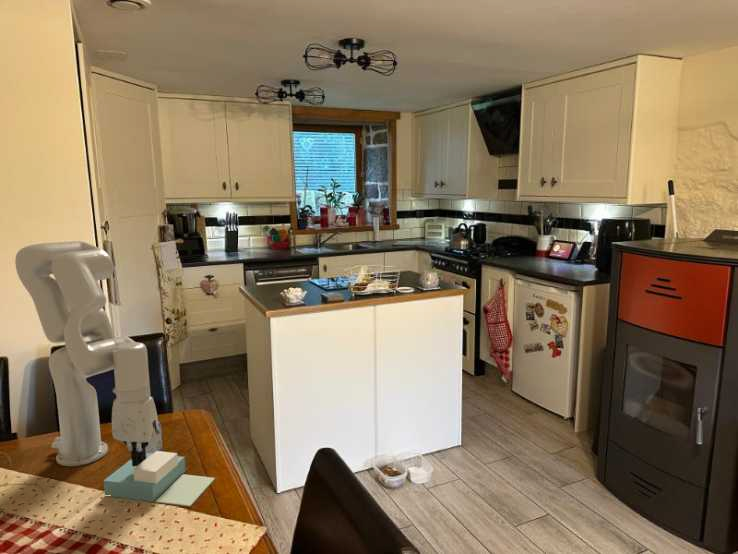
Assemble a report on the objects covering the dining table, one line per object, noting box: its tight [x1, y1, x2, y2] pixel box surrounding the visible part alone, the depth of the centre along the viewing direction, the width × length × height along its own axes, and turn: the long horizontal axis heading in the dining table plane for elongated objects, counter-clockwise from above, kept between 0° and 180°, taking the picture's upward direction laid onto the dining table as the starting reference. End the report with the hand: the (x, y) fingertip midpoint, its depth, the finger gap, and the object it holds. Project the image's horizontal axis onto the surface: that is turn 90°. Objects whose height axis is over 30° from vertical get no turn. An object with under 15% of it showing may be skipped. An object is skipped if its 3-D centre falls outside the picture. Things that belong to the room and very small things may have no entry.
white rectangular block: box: [133, 450, 179, 483], centre depth 126 cm, size 6×9×3 cm, turn 167°
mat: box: [154, 473, 216, 508], centre depth 126 cm, size 9×12×1 cm
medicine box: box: [146, 421, 163, 453], centre depth 141 cm, size 8×4×9 cm, turn 168°
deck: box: [103, 453, 186, 503], centre depth 129 cm, size 13×14×4 cm
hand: (139, 463), depth 127 cm, fingers closed
